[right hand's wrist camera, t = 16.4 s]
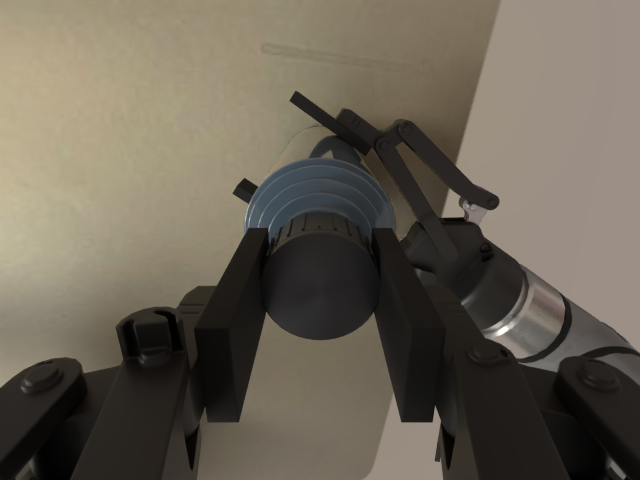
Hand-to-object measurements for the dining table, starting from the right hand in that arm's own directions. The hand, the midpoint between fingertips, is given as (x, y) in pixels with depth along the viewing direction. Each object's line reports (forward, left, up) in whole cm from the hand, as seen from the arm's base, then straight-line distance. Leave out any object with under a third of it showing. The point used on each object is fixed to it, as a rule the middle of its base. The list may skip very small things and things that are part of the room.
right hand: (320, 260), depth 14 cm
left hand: (0, +5, -15) cm, 16 cm away
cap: (0, 0, +2) cm, 2 cm away
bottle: (0, 0, -21) cm, 21 cm away
